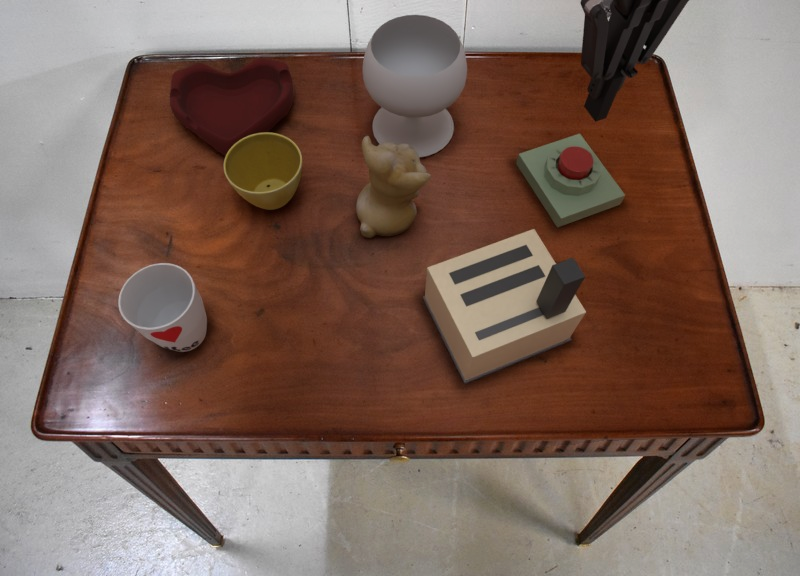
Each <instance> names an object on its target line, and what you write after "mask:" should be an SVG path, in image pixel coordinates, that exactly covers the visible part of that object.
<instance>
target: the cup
mask: <svg viewBox="0 0 800 576" xmlns="http://www.w3.org/2000/svg"><path fill="white" fill-rule="evenodd" d="M118 310H119V313H120V315H121V317H122V318H123V320H125V322H126V323H128V325H130V326H131V327H132V328H133V329H135V330H136V331H137V332H138V333H139V334H141V335H142V336H143V337H144V338H145V339H147V340H149V341H151V342H152V343H154V344H156V345H158V346H159V347H162V348H163V349H167V350H170V351H175V352H179V353H184V352H190V351H193V350H195V349H196V348H197V347H199V346H200V345H201V344H202V343H203V341H204V340H205V338H206V335H207V328H208V317H207V313H206V309H205V305H204V302H203V298H202V296H201V293H200V292H199V290H198V288H197V286H196V283H195V282H194V280H193V277H192V276H191V274H190V272H188V271H187V270H186V269H185V268H183V267H181V266H180V265H177V264H173V263H169V262H161V263H160V262H159V263H154V264H150V265H147V266H144V267H142V268H140V269H139V270H137V271H136V272H134V273H133V274H131V276H130V277H128V279H127V280H126V281H125V282H124V284H123V286H122V287H121V290H120V292H119V296H118Z"/></svg>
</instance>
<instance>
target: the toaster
mask: <svg viewBox="0 0 800 576" xmlns="http://www.w3.org/2000/svg"><path fill="white" fill-rule="evenodd" d="M555 264H557V263H556V262H555V260H554V258H553V256H552V255H551V253H550V251H549V250H548V248H547V247H546V246H545V244H544V242H543V241H542V239H541V237H540V236H539V234H538V232H537V231H536V229H535V228H532V229H530V230H526V231H524V232H521V233H518V234H515V235H512V236H510V237H508V238H507V237H506V238H505V239H502V240H499V241H497V242H493V243H491V244H489V245H485V246H482V247H480V248H476V249H474V250H472V251H469V252H466V253H463V254H461V255H460V254H459V255H458V256H455V257H452V258H450V259H447V260H444V261H441V262H438V263H435V264H433V265H430V266H427V268H426V278H425V289H424V290H425V292H424V295H422V300H423V302H424V304H425V306H426V307H425V308H427V311H428V312H429V315H430V317H431V319H432V321H433V323H434V325H435V327H436V330H437V331H438V334H439V335H440V337H441V339H442V341H443V344H444V346H445V348H446V349H447V351H448V354H449V356H450V358H451V360H452V362H453V364H454V366H455V369H456V370H457V372H458V374H459V376H460V378H461V380H462V382H463V383H462V384H464V385H467V384H469V383H471V382H474V381H477V380H479V379H481V378H484V377H486V376H489V375H491V374H495V372H498V371H501V370H503V369H506V368H508V367H510V366H513V365H516V364H518V363H521V362H524V361H526V360H528V359H530V358H533V357H535V356H538V355H540V354H543V353H545V352H547V351H550V350H553V349H555V348H557V347H560V346H562V345H565V344H567V343H570V342H571V341H572V340H573V339H572V335H573V334H574V332H575V330H576V329H577V327H578V326H579V324H580V322H581V321H582V319H583V318H584V316H585V314H586V313H587V311H586V309H585V307H584V306H583V304H582V303H581V301H580V300H579V298H578V296H577V295H576V294H575V296H574V297H573V299H572V301H571V303H570V305H569V306H568V308H567V310H566V312H564V313H561V314H559V315H556V316H554V317H551V318H549V319H546V318H545V316H544V314H543V312H542V311H541V309H540V307H539V306H538V304H537V302H536V301H537V298H538V296H539V294H540V292H541V290H542V287H543V285H544V283H545V281H546V278H547V276H548V274H549V272H550V270H551V267H552V265H555Z"/></svg>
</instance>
